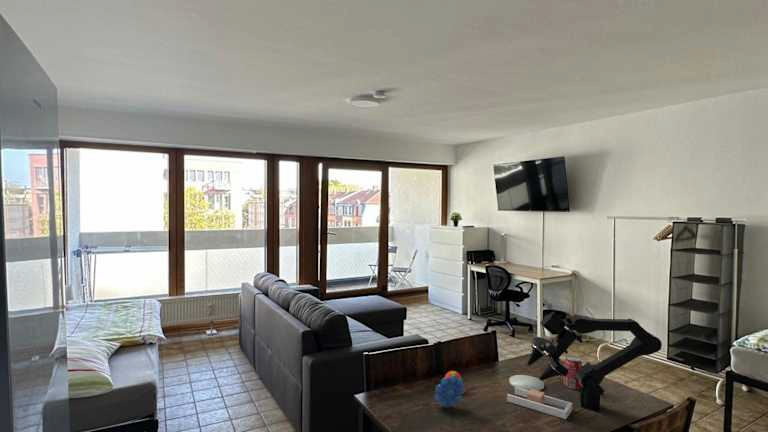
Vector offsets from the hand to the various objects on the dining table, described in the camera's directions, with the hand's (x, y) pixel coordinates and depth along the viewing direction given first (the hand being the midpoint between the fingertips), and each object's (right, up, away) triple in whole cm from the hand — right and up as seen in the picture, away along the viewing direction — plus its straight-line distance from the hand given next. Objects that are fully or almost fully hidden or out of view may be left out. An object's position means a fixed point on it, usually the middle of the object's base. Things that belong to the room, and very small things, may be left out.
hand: (533, 372), depth 160 cm
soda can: (+21, -12, +14) cm, 28 cm away
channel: (+1, -12, -2) cm, 12 cm away
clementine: (-29, -11, +11) cm, 33 cm away
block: (0, -12, -2) cm, 12 cm away
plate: (+3, -11, +16) cm, 20 cm away
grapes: (-33, -11, -4) cm, 35 cm away
